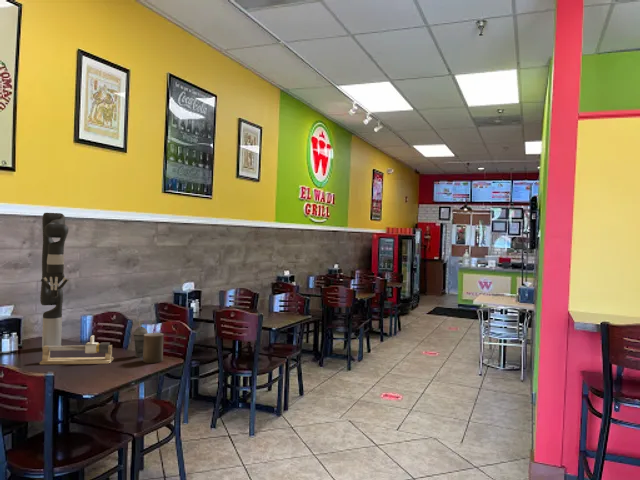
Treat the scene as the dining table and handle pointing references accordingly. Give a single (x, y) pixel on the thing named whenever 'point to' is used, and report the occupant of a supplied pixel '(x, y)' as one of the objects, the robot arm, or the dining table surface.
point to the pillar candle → (153, 348)
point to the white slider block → (91, 346)
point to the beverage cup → (139, 340)
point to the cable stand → (100, 348)
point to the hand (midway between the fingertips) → (54, 297)
